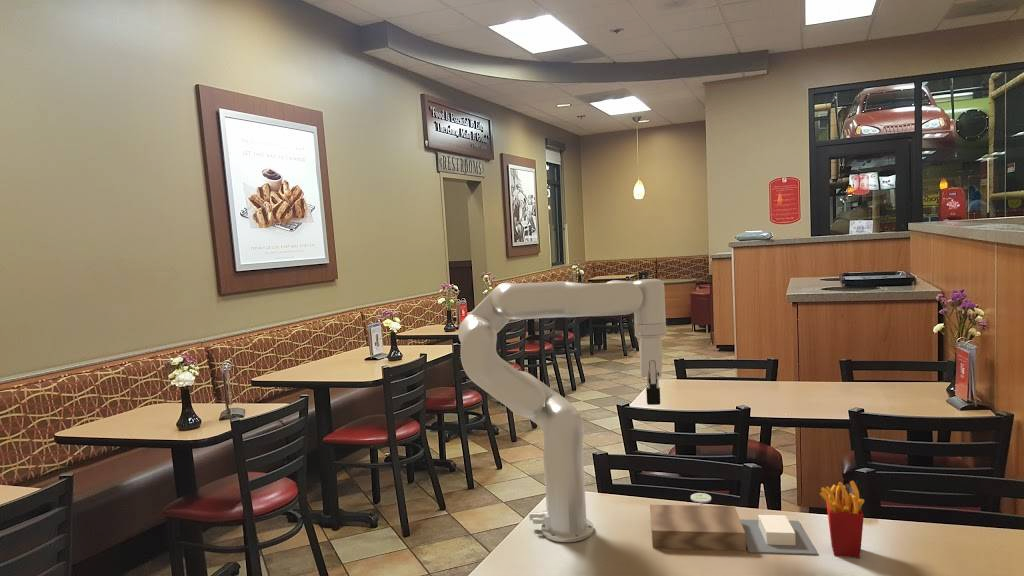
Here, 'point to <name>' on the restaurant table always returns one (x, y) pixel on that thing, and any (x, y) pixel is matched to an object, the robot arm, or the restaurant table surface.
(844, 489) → the french fries
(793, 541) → the cream rectangular block
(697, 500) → the sign
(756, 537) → the mat
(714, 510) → the board
